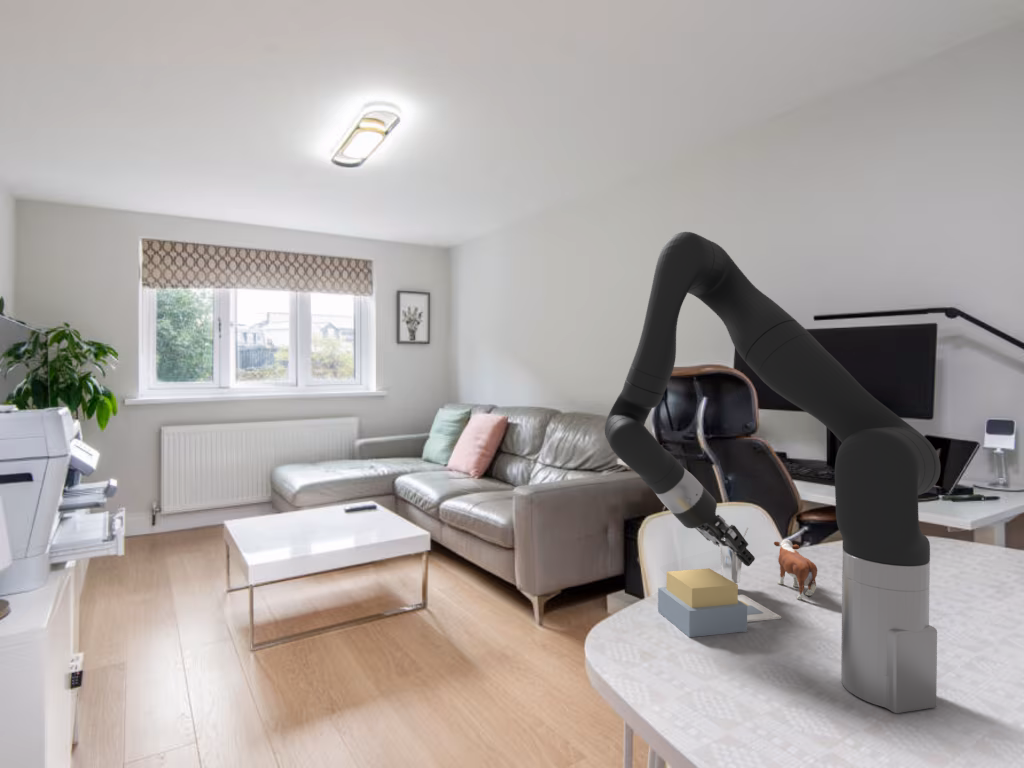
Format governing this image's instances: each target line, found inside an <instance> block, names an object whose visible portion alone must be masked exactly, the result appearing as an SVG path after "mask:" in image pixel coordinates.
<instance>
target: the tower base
mask: <svg viewBox="0 0 1024 768" xmlns="http://www.w3.org/2000/svg"><path fill="white" fill-rule="evenodd" d="M738 595H739V583H734V582H732V581H731V580H729V579H727V578H725V577H724V576H722V574H720V573H718V572H716V571H715V570H713V569H711V568H697V569H685V570H683V569H682V570H672V571H671V570H669V571H666V586H665V587H664V586H662V587H658V588H657V612H658V613H660V615H661V616H663V617H665V619H666V620H667V621H669V622H670V623H671V624H672V625H674V626H675V627H676V628H677V629H679V630H680V631H681V632H682V633H683V634H685V635H686V636H687V637H688V638H694V637H704V636H713V635H715V636H716V635H722V634H732V633H733V634H734V633H743V632H748V622H747V605H745V604H744V603H742V602H741V601H739V600H738Z"/></svg>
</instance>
